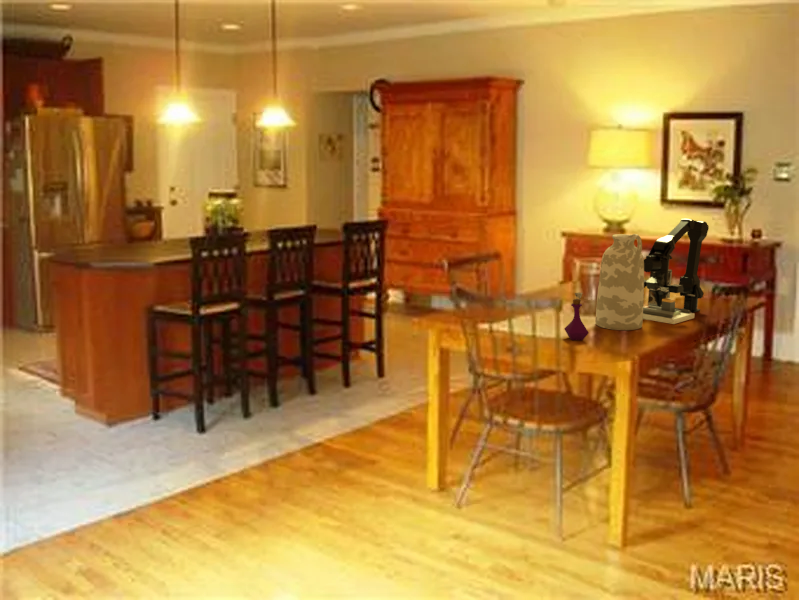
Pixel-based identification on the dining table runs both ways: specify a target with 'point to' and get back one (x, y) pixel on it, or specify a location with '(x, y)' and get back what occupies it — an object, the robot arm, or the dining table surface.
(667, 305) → the lever
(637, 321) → the vase
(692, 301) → the robot arm
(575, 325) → the perfume bottle
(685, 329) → the dining table surface
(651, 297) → the coffee box
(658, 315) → the panel
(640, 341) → the dining table surface
